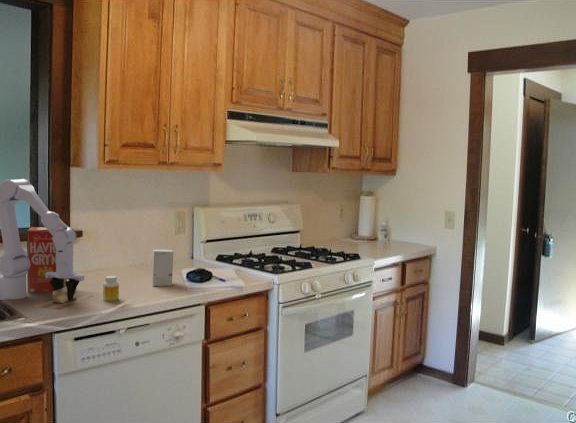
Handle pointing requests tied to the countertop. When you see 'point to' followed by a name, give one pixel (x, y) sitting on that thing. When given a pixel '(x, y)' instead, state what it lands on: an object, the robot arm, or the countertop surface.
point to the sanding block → (61, 296)
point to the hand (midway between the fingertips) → (64, 298)
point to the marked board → (59, 306)
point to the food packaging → (40, 259)
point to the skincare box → (162, 267)
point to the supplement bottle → (111, 289)
